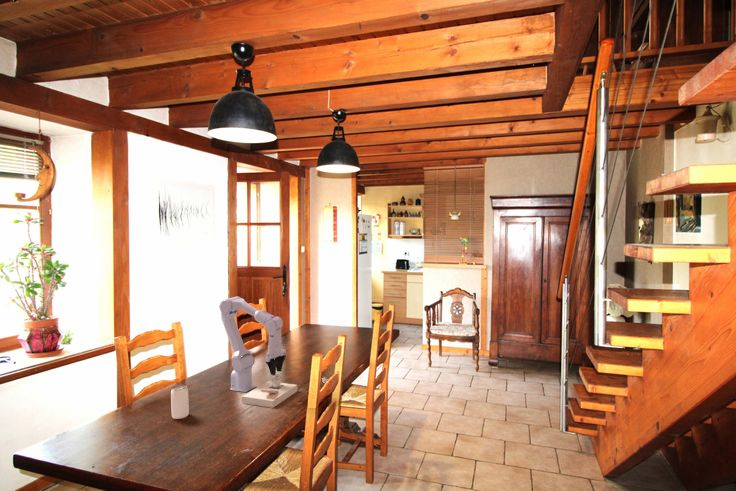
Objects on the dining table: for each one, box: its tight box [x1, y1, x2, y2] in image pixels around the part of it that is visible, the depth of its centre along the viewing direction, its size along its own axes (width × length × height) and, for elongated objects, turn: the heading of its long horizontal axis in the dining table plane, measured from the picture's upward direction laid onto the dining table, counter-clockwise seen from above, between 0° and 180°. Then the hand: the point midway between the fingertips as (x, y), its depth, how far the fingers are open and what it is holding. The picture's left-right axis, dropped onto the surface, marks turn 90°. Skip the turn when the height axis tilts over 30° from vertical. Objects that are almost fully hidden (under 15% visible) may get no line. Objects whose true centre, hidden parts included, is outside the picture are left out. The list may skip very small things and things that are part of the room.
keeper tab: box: [261, 390, 278, 393], centre depth 190 cm, size 4×8×1 cm, turn 159°
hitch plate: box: [241, 380, 298, 409], centre depth 196 cm, size 16×20×3 cm
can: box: [170, 384, 190, 420], centre depth 177 cm, size 6×6×12 cm
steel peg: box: [270, 373, 282, 389], centre depth 200 cm, size 5×5×8 cm
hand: (276, 372), depth 200 cm, fingers open, 4 cm apart
